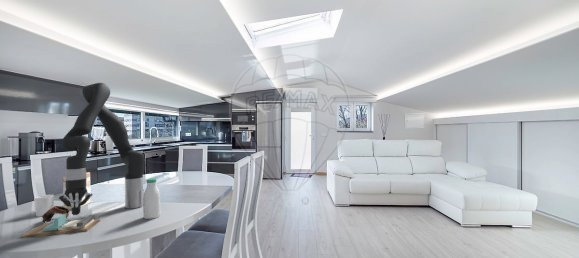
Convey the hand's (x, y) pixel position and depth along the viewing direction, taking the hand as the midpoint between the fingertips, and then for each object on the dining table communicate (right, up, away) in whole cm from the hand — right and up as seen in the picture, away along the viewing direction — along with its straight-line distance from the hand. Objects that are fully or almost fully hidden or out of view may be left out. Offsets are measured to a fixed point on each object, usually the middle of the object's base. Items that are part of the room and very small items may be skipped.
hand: (75, 214), depth 118 cm
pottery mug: (-19, -7, +10) cm, 23 cm away
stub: (-7, -5, -2) cm, 9 cm away
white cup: (-35, -7, +20) cm, 41 cm away
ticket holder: (-4, -6, -1) cm, 7 cm away
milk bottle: (+29, -6, +13) cm, 32 cm away
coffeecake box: (-28, -7, +34) cm, 45 cm away
